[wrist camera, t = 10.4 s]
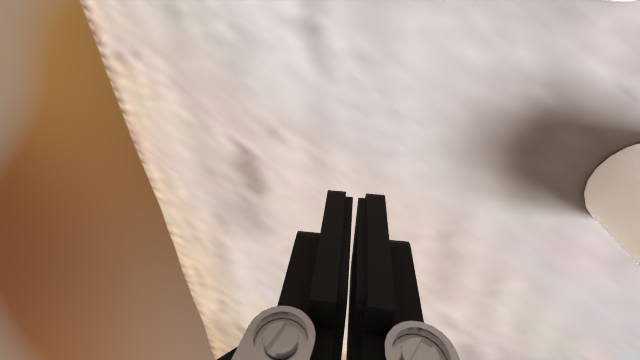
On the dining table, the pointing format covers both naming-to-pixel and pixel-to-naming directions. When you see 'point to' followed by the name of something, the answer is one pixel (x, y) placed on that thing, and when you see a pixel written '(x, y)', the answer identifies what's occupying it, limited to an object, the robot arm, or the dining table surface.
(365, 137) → the dining table surface
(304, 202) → the dining table surface
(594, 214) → the white jar
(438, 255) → the dining table surface
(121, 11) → the dining table surface
